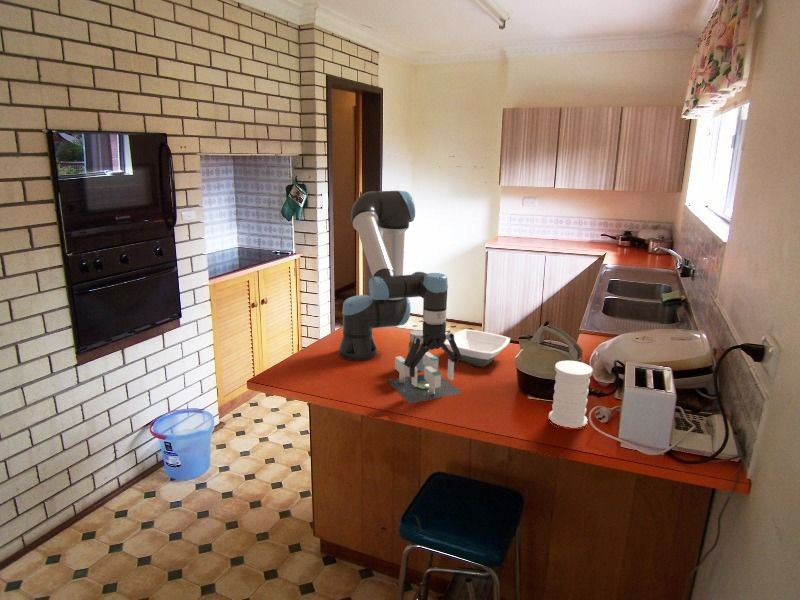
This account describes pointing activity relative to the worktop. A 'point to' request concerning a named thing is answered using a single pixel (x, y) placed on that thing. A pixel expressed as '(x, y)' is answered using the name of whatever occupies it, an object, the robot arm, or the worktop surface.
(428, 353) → the knob far
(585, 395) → the decorative container
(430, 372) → the knob front
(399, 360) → the knob near
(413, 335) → the bottle
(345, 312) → the robot arm
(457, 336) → the bowl
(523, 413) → the worktop surface
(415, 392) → the plate
